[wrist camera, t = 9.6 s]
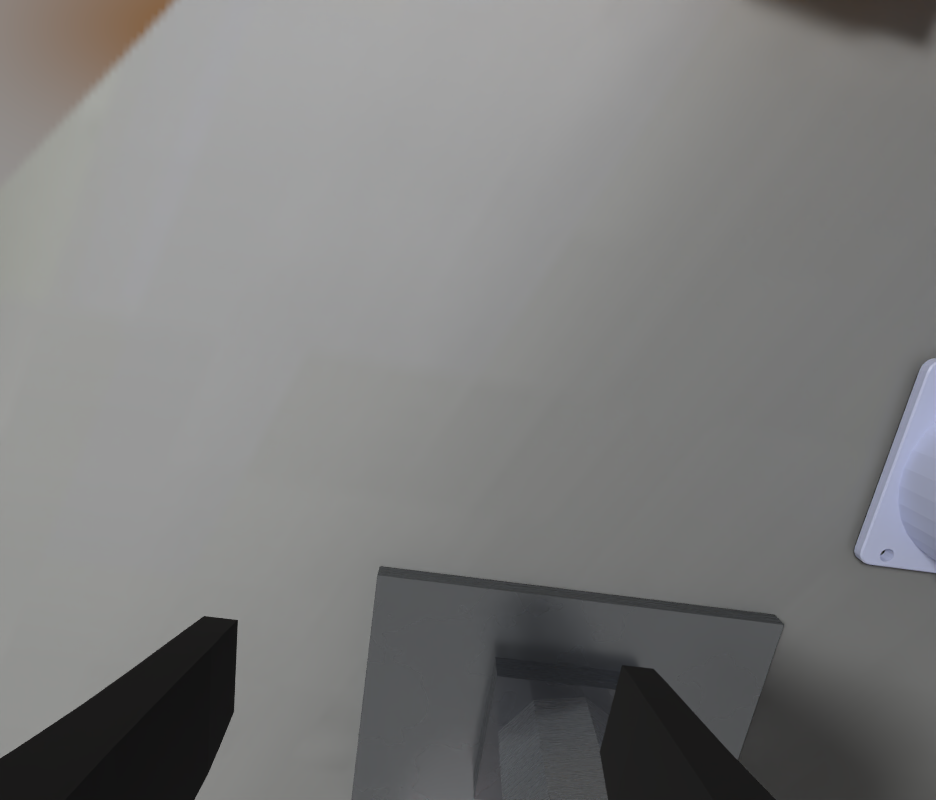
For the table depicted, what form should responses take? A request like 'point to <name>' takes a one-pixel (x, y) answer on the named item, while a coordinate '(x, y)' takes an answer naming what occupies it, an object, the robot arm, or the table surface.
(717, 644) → the grey square base plate
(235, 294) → the table surface
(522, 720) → the tube
